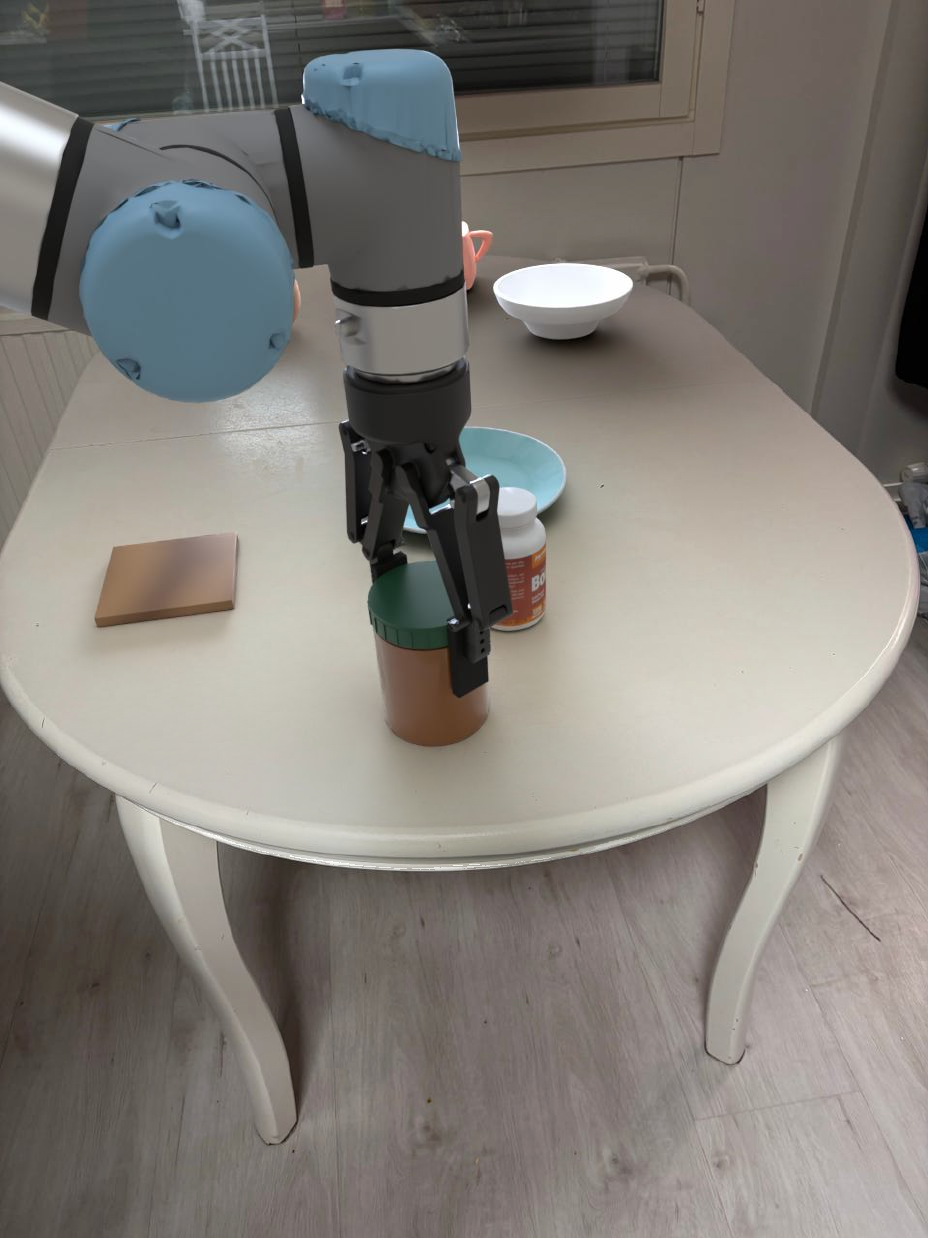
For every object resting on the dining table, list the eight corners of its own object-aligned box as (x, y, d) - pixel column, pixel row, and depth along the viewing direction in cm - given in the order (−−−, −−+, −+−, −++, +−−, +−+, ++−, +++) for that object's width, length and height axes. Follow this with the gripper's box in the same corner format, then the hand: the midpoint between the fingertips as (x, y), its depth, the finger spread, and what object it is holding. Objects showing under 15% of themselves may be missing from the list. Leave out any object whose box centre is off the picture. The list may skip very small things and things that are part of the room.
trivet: (97, 627, 82) (93, 618, 81) (115, 555, 91) (113, 546, 91) (234, 609, 83) (232, 600, 82) (238, 539, 92) (236, 531, 92)
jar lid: (375, 657, 62) (372, 636, 61) (365, 588, 68) (362, 568, 67) (496, 640, 63) (495, 619, 62) (475, 573, 69) (474, 553, 68)
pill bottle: (546, 633, 78) (546, 520, 71) (473, 633, 78) (466, 520, 72) (545, 591, 83) (546, 481, 76) (476, 591, 83) (471, 482, 77)
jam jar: (390, 753, 68) (374, 639, 61) (380, 683, 74) (365, 573, 67) (497, 737, 68) (493, 623, 62) (478, 669, 75) (473, 559, 68)
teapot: (495, 293, 149) (493, 225, 143) (384, 299, 150) (377, 231, 144) (493, 272, 158) (492, 207, 152) (389, 277, 159) (383, 213, 153)
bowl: (553, 300, 145) (553, 255, 141) (657, 326, 134) (661, 278, 130) (467, 336, 134) (464, 289, 130) (572, 368, 123) (573, 317, 119)
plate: (539, 567, 86) (539, 541, 84) (320, 539, 92) (316, 515, 90) (585, 458, 103) (586, 435, 101) (398, 440, 108) (396, 418, 107)
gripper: (261, 332, 59) (313, 616, 73) (469, 435, 46) (485, 759, 60) (358, 303, 63) (390, 579, 77) (577, 391, 49) (569, 706, 63)
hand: (432, 657), depth 68 cm, fingers closed on jar lid, 8 cm apart
